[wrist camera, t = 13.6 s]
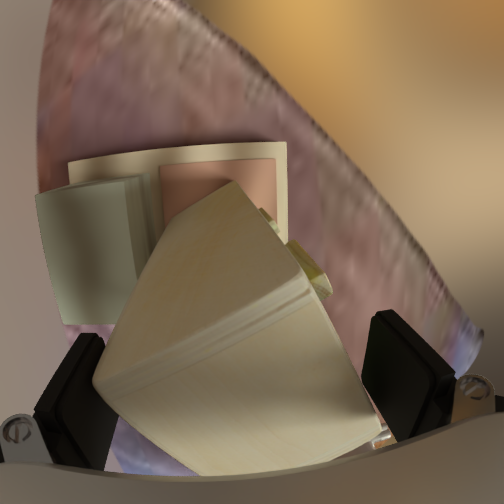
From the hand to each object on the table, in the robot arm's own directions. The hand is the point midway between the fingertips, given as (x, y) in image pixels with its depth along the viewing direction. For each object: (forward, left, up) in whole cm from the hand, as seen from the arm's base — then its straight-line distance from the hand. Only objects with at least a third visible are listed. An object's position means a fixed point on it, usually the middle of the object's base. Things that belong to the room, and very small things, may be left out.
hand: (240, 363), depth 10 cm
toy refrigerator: (-1, +1, -19) cm, 19 cm away
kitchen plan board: (+4, 0, -22) cm, 22 cm away
